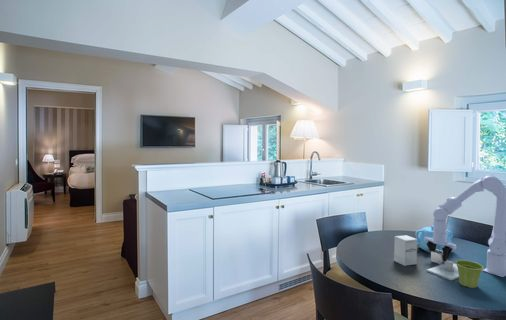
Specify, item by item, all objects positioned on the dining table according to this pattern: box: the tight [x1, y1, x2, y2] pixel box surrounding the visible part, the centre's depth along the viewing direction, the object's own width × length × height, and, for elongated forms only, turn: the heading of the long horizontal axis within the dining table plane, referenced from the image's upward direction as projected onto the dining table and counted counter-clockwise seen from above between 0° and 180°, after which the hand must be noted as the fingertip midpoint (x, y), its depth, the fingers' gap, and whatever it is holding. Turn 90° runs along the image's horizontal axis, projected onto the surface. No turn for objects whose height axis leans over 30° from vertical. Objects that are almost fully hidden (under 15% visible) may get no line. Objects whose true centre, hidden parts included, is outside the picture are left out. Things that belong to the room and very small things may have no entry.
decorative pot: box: [414, 224, 454, 254], centre depth 168 cm, size 16×16×14 cm
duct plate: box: [426, 259, 459, 281], centre depth 141 cm, size 18×11×5 cm, turn 119°
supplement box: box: [393, 234, 418, 267], centre depth 151 cm, size 7×7×13 cm
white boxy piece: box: [430, 249, 445, 265], centre depth 152 cm, size 5×5×5 cm
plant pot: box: [455, 259, 484, 289], centre depth 128 cm, size 9×9×9 cm
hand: (439, 259), depth 152 cm, fingers closed on white boxy piece, 5 cm apart
